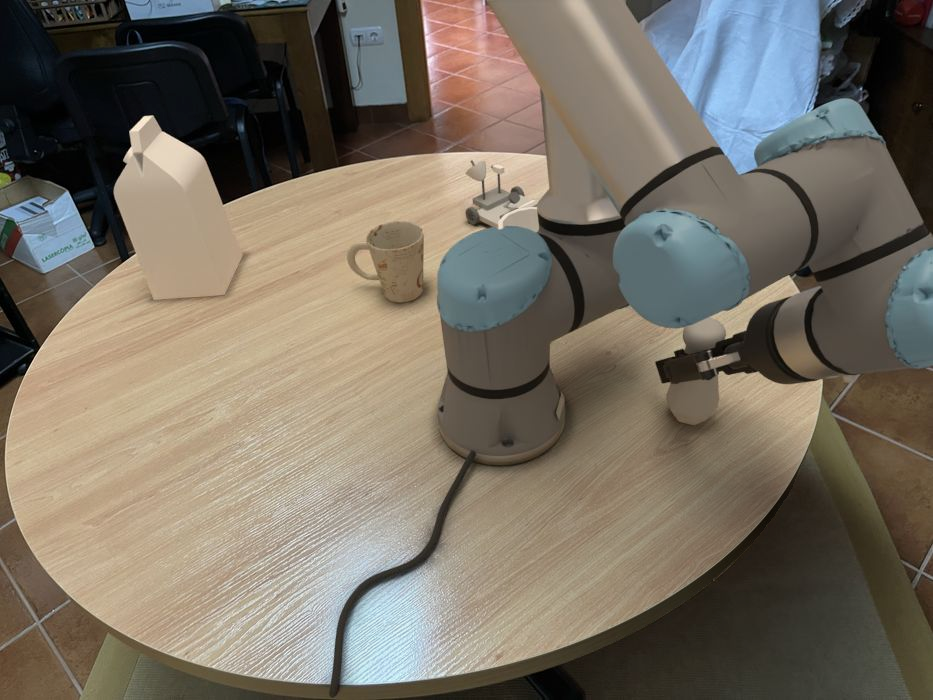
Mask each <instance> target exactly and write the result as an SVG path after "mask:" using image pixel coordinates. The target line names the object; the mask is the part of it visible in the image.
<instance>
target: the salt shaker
mask: <svg viewBox="0 0 933 700" xmlns="http://www.w3.org/2000/svg"><path fill="white" fill-rule="evenodd" d="M683 328H684V329H683V331H682V340H683V343H684V345H685V347H684V351H685V353H687V355H688V354H692V353H695V352H699V351H703V350H707V349H710V348H714V347H715V345H716V342H718V341H722V340H725V339H726V336H727V330H726V328H725V326H724V324H723V323H721V322H720V321H719V320H718V319H715V318H714V317H711V316H710V317H708V318H706V319H704V320H702V321H699V322H697V323H695V324H693V325H689V326H686V327H683ZM719 387H720V386H719V375H716V376H715V377H713V378H712V379H711V380H701V379H700V380H694V381H687V382H681V383H678V384H671V383H669V386H668V388H667V391H666V395H665V398H666V401H667V405H668V407H669V410H670V411H671V413H672V415H673V416H674V418H675V419H676V421H677V422H680V423H683V424H686V425H691V426H697V425H699V424H701V423H702V422H706V421H707V420H709V418H710V417H711V416H712V415H713V414H714V413H715V412H716V411H717V409H718V408H719V403H720V388H719Z"/></svg>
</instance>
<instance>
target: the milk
mask: <svg viewBox="0 0 933 700" xmlns="http://www.w3.org/2000/svg"><path fill="white" fill-rule="evenodd" d="M129 139H130V145H131V146H130V148H129V149H128V151H126V154H125V156H124V158H123V159H122V162H124V163H125V164H126V165H125V167H124V168H123V169H122V171H121V173H120V175H119V176H118V178H117V180H116V182H115V183H114V187H113V196H114V200H115V203H116V205H117V208H118V210H119V213H120V215H121V218H122V221H123V223H124V226H125V229H126V231H127V233H128V237H129V239H130V241H131V244H132V247H133V249H134V252H135V255H136V257H137V260H138V263H139V266H140V268H141V271H142V273H143V275H144V279H145V280H146V283H147V286H148V288H149V289H148V290H149V292H150V294H151V296H152V299H153V301H157V300H159V301H160V300H172V299H173V300H174V299H189V298H201V297H217V296H225V295H226V293H227V291H228V289H229V287H230V285H231V282H232V280H233V278H234V276H235V274H236V272H237V269H238V267H239V265H240V263H241V261H242V259H243V257H244V254H243V252H242V250H241V246H240V244H239V242H238V239H237V237H236V234H235V232H234V229H233V226H232V224H231V222H230V219H229V217H228V214H227V211H226V209H225V206H224V203H223V201H222V198H221V196H220V194H219V191H218V188H217V186H216V184H215V181H214V178H213V176H212V173H211V171H210V168H209V166H208V164H207V161H206V159H205V157H204V156H203V155H202V154H201V153H200V152H199V151H198V150H196V149H194V147H191V146H189V145H188V144H186V143H184V142H182V141H180V140H179V139H177V138H175V137H174V136H171V135H170V134H168V133H166V132H165V131H162V128H161V126H160V125H159V123H158V121H157V120H156V118H155V116H154V115H144V116H142V118H141V119H140V120H139V121H138V122H137V123H136V124H135V125H134V126H133V127H132V128H131V129H130V130H129Z"/></svg>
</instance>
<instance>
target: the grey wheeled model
mask: <svg viewBox="0 0 933 700" xmlns="http://www.w3.org/2000/svg"><path fill="white" fill-rule="evenodd" d="M470 163H471V165H472V166H471V167H470V168H469V169H467V170H466V172H465V175H466V176H468V177H469V178H470V179H472V180H474V181H476V182H481V190H482V191H481V192H482V193H481V194H479V195H476V196H475V197H472V198H471V199H472V205H475V206H477V207H479V208H480V209H478V210H477V208H476V207H473V206H469V207H468V208H466V210H465V218H466V220H467V221H468V223H469V224H470V225H477V224H479V222H482V223H484V224H486V225H488V226H490V227H496V228H497V229H498V221H499V220H500V219H501V218H502V217H503V216H504V215H505V214H507V213H509V212H511V211H514V210H516V209H521V208H527V207H537V203H538V201H539V200H540V199H541V198H542V197H540V198H538V199H530V198H528V197H527V196H525V195H526V194H525V192H524V189H522V187H520V186H518V185H517V186H515V185H514V186H513V187H512V188H511V189H510V191H507V190H505V189H503V188H502V187H501V175H503V174H505V167H504V166H502V165H500V164H498V163H497V164H492V165H491V167H490V169H492V172H493V173H496V174H497V186H496V187H495V188H492V189H490V190H487V191H486V188H485V179H486V177H487V164H486V161H485V160H482V161H479V162H477V163H475V162H474V161H473V160H472V159H471V160H470ZM485 191H486V192H485Z"/></svg>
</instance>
